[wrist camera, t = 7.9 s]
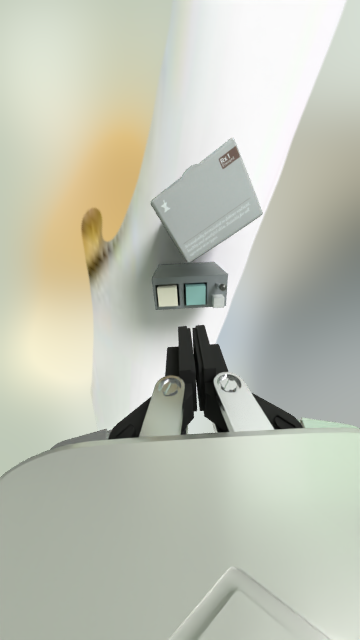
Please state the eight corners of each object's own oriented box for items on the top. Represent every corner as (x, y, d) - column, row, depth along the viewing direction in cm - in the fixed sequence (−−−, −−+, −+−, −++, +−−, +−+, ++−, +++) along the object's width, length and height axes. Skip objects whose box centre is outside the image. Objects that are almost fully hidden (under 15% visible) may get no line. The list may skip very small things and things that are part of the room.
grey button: (212, 294, 25) (213, 298, 24) (222, 294, 25) (224, 297, 24) (211, 304, 26) (213, 308, 25) (221, 303, 26) (223, 307, 25)
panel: (158, 264, 33) (151, 278, 24) (213, 261, 33) (227, 274, 24) (161, 289, 35) (155, 309, 26) (213, 286, 35) (225, 306, 26)
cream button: (159, 282, 27) (157, 288, 24) (176, 281, 27) (176, 287, 24) (160, 298, 28) (159, 306, 25) (177, 297, 28) (177, 305, 25)
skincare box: (183, 254, 32) (188, 274, 18) (159, 214, 30) (143, 202, 15) (226, 224, 30) (269, 221, 16) (204, 180, 28) (234, 129, 13)
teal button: (184, 280, 27) (185, 287, 24) (202, 279, 27) (205, 285, 24) (185, 297, 28) (186, 305, 25) (202, 296, 28) (205, 304, 25)
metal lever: (214, 281, 24) (220, 284, 21) (220, 280, 24) (227, 283, 21) (214, 288, 25) (219, 292, 21) (220, 287, 25) (227, 291, 21)
